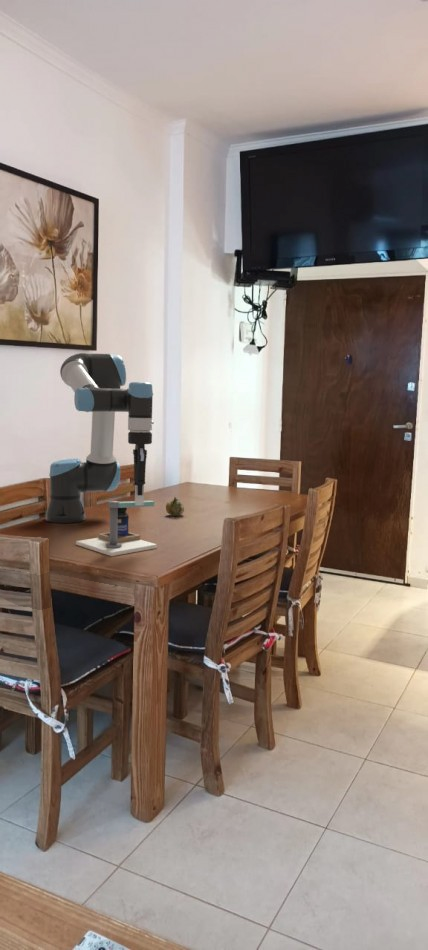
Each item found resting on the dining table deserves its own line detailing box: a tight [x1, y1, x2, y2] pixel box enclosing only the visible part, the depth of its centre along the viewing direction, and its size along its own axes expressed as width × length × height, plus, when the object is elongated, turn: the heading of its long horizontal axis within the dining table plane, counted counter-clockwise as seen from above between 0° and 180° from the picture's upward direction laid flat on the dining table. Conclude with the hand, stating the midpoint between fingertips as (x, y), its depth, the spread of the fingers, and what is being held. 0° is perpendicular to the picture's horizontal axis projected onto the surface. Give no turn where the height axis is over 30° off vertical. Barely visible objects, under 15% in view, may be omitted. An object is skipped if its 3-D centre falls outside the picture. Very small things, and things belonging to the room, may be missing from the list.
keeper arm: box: [107, 500, 155, 509], centre depth 227 cm, size 15×4×2 cm, turn 112°
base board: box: [75, 508, 158, 557], centre depth 231 cm, size 20×18×14 cm
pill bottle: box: [117, 507, 130, 538], centre depth 237 cm, size 6×6×11 cm
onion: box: [165, 496, 185, 517], centre depth 288 cm, size 8×8×8 cm
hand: (139, 505), depth 226 cm, fingers closed
